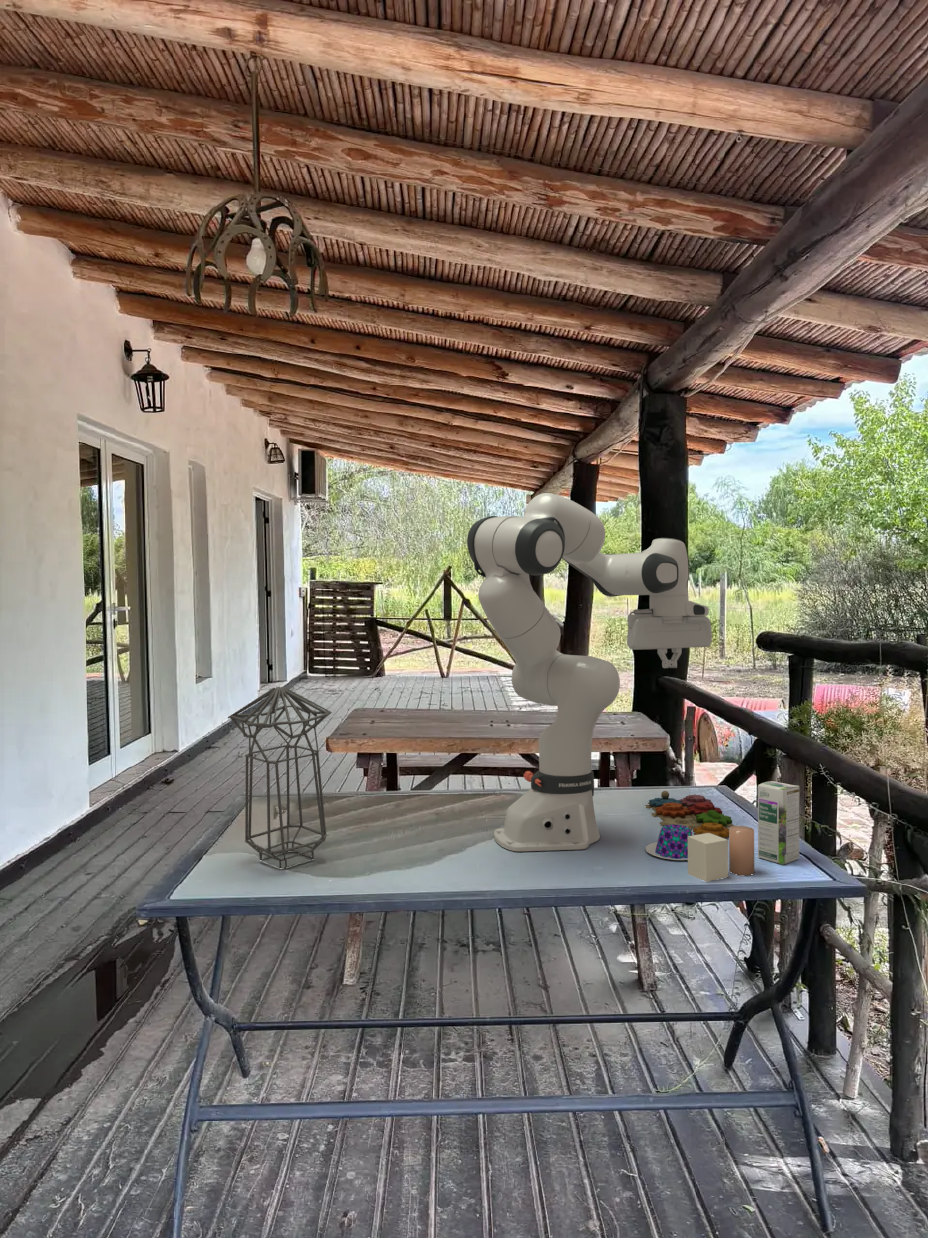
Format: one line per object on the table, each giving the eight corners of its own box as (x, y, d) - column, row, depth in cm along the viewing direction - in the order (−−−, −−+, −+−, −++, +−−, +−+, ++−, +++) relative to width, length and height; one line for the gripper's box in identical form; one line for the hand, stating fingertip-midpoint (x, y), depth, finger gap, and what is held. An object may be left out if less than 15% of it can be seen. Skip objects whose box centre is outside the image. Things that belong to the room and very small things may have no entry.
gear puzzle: (752, 843, 172) (752, 823, 172) (674, 844, 172) (674, 825, 172) (707, 804, 203) (707, 787, 203) (641, 805, 203) (641, 789, 203)
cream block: (706, 882, 148) (705, 843, 148) (687, 874, 153) (687, 836, 152) (728, 878, 150) (727, 840, 150) (709, 869, 155) (709, 832, 154)
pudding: (644, 861, 161) (644, 835, 160) (646, 843, 172) (645, 818, 172) (708, 865, 158) (708, 838, 158) (705, 846, 169) (705, 821, 169)
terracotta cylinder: (738, 877, 150) (737, 833, 150) (724, 869, 155) (724, 827, 154) (759, 874, 151) (759, 831, 151) (745, 867, 156) (745, 825, 155)
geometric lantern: (341, 860, 164) (335, 685, 162) (272, 883, 153) (264, 695, 151) (297, 843, 175) (291, 679, 173) (229, 863, 164) (222, 688, 162)
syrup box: (756, 858, 161) (756, 784, 160) (774, 852, 164) (773, 779, 164) (783, 865, 156) (782, 789, 155) (800, 859, 159) (800, 784, 159)
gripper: (633, 609, 186) (634, 671, 187) (715, 607, 191) (715, 667, 192) (621, 609, 192) (622, 668, 193) (701, 607, 197) (701, 665, 198)
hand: (669, 667), depth 192 cm, fingers closed
